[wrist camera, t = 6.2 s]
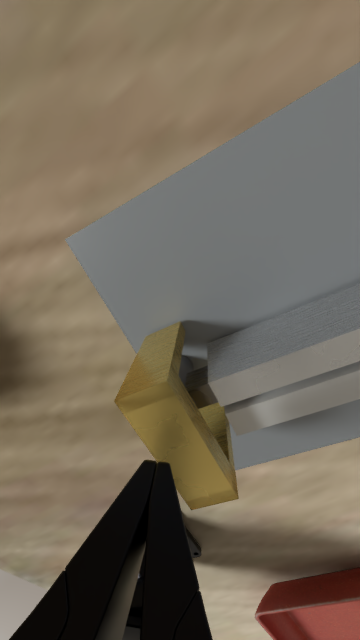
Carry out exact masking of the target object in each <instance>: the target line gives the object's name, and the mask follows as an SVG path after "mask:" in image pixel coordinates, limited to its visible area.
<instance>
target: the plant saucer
mask: <svg viewBox="0 0 360 640" xmlns="http://www.w3.org/2000/svg"><path fill="white" fill-rule="evenodd" d="M255 618H256V620H257V621H258V622H259V623H260V625H261V626H262V627H263V628H264V629H265V631H266V632H267V633H268V634H269V635H270V636H271V637H272V639H273V640H360V568H355V569H350V570H344V571H339V572H334V573H328V574H323V575H318V576H312V577H307V578H302V579H296V580H291V581H286V582H280V583H275V584H273V585H271V587H270V588H269V590H268V591H267V592H266V594H265V595H264V597H263V599H262V600H261V602H260V604H259V606H258V608H257V611H256V614H255Z"/></svg>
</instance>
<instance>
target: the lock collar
mask: <svg viewBox="0 0 360 640" xmlns="http://www.w3.org/2000/svg"><path fill="white" fill-rule="evenodd" d="M185 332H186V331H185V329H184V327H183V325H182V323H181V321H179V322H177V323H175V324H172V325H170V326H168V327H166V328H163V329H161V330H159V331H157V332H154V333H152V334H150V335H148V336H146V337H145V339H144V341H143V343H142V345H141V347H140V349H139V351H138V353H137V355H136V357H135V359H134V362H133V364H132V366H131V368H130V370H129V372H128V374H127V376H126V378H125V380H124V382H123V384H122V386H121V388H120V390H119V392H118V394H117V396H116V399H115V401H114V402H115V403H116V404H117V406H118V407H119V409H120V410H121V412H122V413H123V414H124V416H125V417H126V419H127V420H128V421H129V423H130V424H131V426H132V427H133V428H134V430H135V431H136V433H137V434H138V435H139V437H140V438H141V440H142V441H143V443H144V444H145V445H146V447H147V448H148V450H149V451H150V452H151V454H152V455H153V457H154V458H155V459H156V461H157V462H159V461H160V462H168V463H169V464H170V466H171V470H172V474H173V479H174V483H175V487H176V489H177V490H178V492H179V493H180V495H181V496H182V497H183V499H184V500H185V502H186V503H187V504H188V506H189V507H190V509H191V510H194V509H198V508H202V507H206V506H211V505H215V504H219V503H223V502H227V501H232V500H236V499H239V498H238V490H237V482H236V474H235V466H234V458H233V449H232V441H231V433H230V425H229V420H228V419H227V417H226V415H225V408H224V406H223V407H221V406H220V404H219V402H218V403H215V404H212V405H209V406H206V407H203V408H200V409H198V408H197V406H196V405H195V403H194V401H193V400H192V398H191V396H190V394H189V393H188V391H187V389H186V388H185V386H184V384H183V383H182V381H181V379H180V377H179V376H178V375H179V369H180V363H181V357H182V350H183V344H184V338H185Z"/></svg>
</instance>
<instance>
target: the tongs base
mask: <svg viewBox="0 0 360 640" xmlns="http://www.w3.org/2000/svg"><path fill="white" fill-rule="evenodd" d="M65 240H66V242H67V244H68V245H69V247H70V248H71V250H72V252H73V253H74V255H75V256H76V258H77V259H78V261H79V263H80V264H81V266H82V267H83V269H84V271H85V272H86V274H87V275H88V277H89V279H90V280H91V282H92V283H93V285H94V287H95V288H96V290H97V291H98V293H99V294H100V296H101V298H102V299H103V301H104V302H105V304H106V306H107V307H108V309H109V310H110V312H111V314H112V315H113V317H114V318H115V320H116V322H117V323H118V325H119V326H120V328H121V329H122V331H123V333H124V334H125V336H126V337H127V339H128V341H129V342H130V344H131V345H132V347H133V349H134V350H135V352H136V353H138V351H139V349H140V347H141V345H142V343H143V341H144V339H145V337H146V336H148V335H150V334H152V333H154V332H157V331H159V330H161V329H163V328H166V327H168V326H170V325H172V324H175V323H177V322H179V321H181V323H182V325H183V327H184V329H185V331H186V332H185V338H184V344H183V350H182V357H181V363H180V369H179V375H178V376H179V377H180V379H181V381H182V383H183V384H184V386H185V385H186V376H187V373H189V372H191V371H194V370H197V369H199V368H202V367H204V366H207V365H208V358H207V343H210V342H212V341H215V340H217V339H220V338H222V337H225V336H227V335H230V334H232V333H235V332H237V331H240V330H242V329H245V328H247V327H250V326H252V325H255V324H257V323H260V322H262V321H265V320H267V319H270V318H272V317H275V316H277V315H280V314H282V313H285V312H287V311H290V310H292V309H295V308H297V307H300V306H302V305H305V304H307V303H310V302H312V301H315V300H317V299H320V298H322V297H325V296H327V295H330V294H332V293H335V292H337V291H340V290H342V289H345V288H347V287H350V286H352V285H355V284H357V283H360V62H359V63H357V64H356V65H354V66H352V67H351V68H349V69H347V70H346V71H344V72H342V73H341V74H339V75H337V76H336V77H334V78H332V79H331V80H329V81H327V82H326V83H324V84H322V85H321V86H319V87H317V88H316V89H314V90H312V91H311V92H309V93H307V94H306V95H304V96H302V97H301V98H299V99H297V100H296V101H294V102H293V103H291V104H289V105H288V106H286V107H284V108H283V109H281V110H279V111H278V112H276V113H274V114H273V115H271V116H269V117H268V118H266V119H264V120H263V121H261V122H259V123H258V124H256V125H254V126H253V127H251V128H249V129H248V130H246V131H244V132H243V133H241V134H239V135H238V136H236V137H234V138H233V139H231V140H229V141H228V142H226V143H225V144H223V145H221V146H220V147H218V148H216V149H215V150H213V151H211V152H210V153H208V154H206V155H205V156H203V157H201V158H200V159H198V160H196V161H195V162H193V163H191V164H190V165H188V166H186V167H185V168H183V169H181V170H180V171H178V172H176V173H175V174H173V175H171V176H170V177H168V178H166V179H165V180H163V181H161V182H160V183H158V184H157V185H155V186H153V187H152V188H150V189H148V190H147V191H145V192H143V193H142V194H140V195H138V196H137V197H135V198H133V199H132V200H130V201H128V202H127V203H125V204H123V205H122V206H120V207H118V208H117V209H115V210H113V211H112V212H110V213H108V214H107V215H105V216H103V217H102V218H100V219H98V220H97V221H95V222H93V223H92V224H90V225H89V226H87V227H85V228H84V229H82V230H80V231H79V232H77V233H75V234H74V235H72V236H70V237H69V238H67V239H65ZM224 408H225V415H226V417H227V419H228V420H229V425H230V433H231V441H232V449H233V458H234V466H235V470H239V469H242V468H246V467H250V466H253V465H257V464H261V463H265V462H268V461H272V460H276V459H280V458H283V457H287V456H291V455H295V454H298V453H302V452H306V451H310V450H313V449H317V448H321V447H324V446H328V445H332V444H336V443H339V442H343V441H347V440H351V439H354V438H358V437H360V361H359V362H356V363H353V364H350V365H347V366H344V367H341V368H338V369H335V370H332V371H329V372H326V373H322V374H319V375H316V376H313V377H310V378H307V379H304V380H301V381H298V382H295V383H292V384H289V385H286V386H283V387H280V388H277V389H274V390H271V391H268V392H265V393H262V394H259V395H256V396H253V397H250V398H247V399H244V400H241V401H238V402H235V403H232V404H229V405H226V406H224Z"/></svg>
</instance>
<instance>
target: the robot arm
mask: <svg viewBox="0 0 360 640" xmlns="http://www.w3.org/2000/svg"><path fill="white" fill-rule="evenodd" d="M199 556H201V548H200V546H199V545H198V544H197V542H196V541H195V540H194V538H193V537H192V536H191V534H190V533H189V532H188V530H187V529H186V528H185V525H184V521H183V516H182V512H181V508H180V504H179V500H178V495H177V491H176V487H175V483H174V479H173V474H172V470H171V466H170V464H169V463H168V462H160V461H159V462H158V463H157V462H156V461H152V460H144V461H143V463H142V464H141V465H140V467H139V468H138V469H137V471H136V472H135V473H134V475H133V476H132V478H131V479H130V480H129V482H128V483H127V484H126V486H125V487H124V488H123V490H122V491H121V493H120V494H119V495H118V497H117V498H116V499H115V501H114V502H113V503H112V505H111V506H110V508H109V509H108V510H107V512H106V513H105V514H104V516H103V517H102V518H101V520H100V521H99V523H98V524H97V525H96V527H95V528H94V529H93V531H92V532H91V533H90V535H89V536H88V537H87V539H86V540H85V542H84V543H83V544H82V546H81V547H80V548H79V550H78V551H77V552H76V554H75V555H74V557H73V558H72V559H71V561H70V562H69V563H68V565H67V566H66V568H65V571H62V573H61V574H60V575H59V577H58V578H57V580H56V581H55V582H54V584H53V585H52V586H51V588H50V589H49V590H48V592H47V593H46V594H45V595H44V597H43V598H42V599H41V601H40V602H39V604H38V605H37V606H36V607H35V609H34V610H33V611H32V612H31V614H30V615H29V616H28V617H27V618H26V620H25V621H24V622H23V623H22V624H21V626H20V627H19V628H18V629H17V631H16V632H15V633H14V634H13V636H12V637H11V638H10V639H9V640H213V639H212V635H211V632H210V628H209V624H208V620H207V616H206V612H205V608H204V604H203V600H202V596H201V592H200V591H199V584H198V580H197V575H196V571H195V567H194V563H193V559H192V558H195V557H199Z"/></svg>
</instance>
